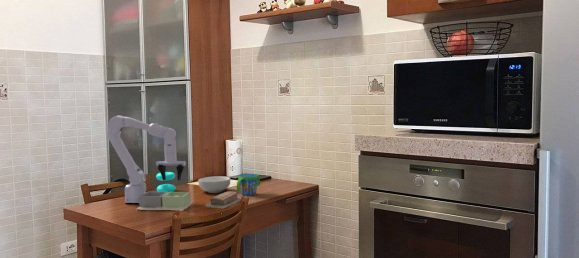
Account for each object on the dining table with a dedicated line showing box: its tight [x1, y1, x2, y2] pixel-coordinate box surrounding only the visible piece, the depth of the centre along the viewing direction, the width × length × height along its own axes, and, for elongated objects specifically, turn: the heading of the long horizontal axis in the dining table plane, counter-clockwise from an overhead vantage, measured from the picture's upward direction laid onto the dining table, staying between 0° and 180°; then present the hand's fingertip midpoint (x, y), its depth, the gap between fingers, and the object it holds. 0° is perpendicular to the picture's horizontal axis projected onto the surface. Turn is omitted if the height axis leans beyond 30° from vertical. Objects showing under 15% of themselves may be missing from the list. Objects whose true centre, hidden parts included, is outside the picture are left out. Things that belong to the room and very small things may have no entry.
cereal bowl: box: [197, 175, 231, 194], centre depth 264 cm, size 17×17×7 cm
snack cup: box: [236, 173, 261, 197], centre depth 255 cm, size 16×10×10 cm
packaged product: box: [205, 190, 242, 210], centre depth 237 cm, size 18×5×10 cm
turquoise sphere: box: [155, 171, 177, 193], centre depth 267 cm, size 10×10×10 cm
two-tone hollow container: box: [136, 191, 193, 212], centre depth 233 cm, size 22×14×6 cm, turn 84°
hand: (171, 180), depth 245 cm, fingers open, 7 cm apart
